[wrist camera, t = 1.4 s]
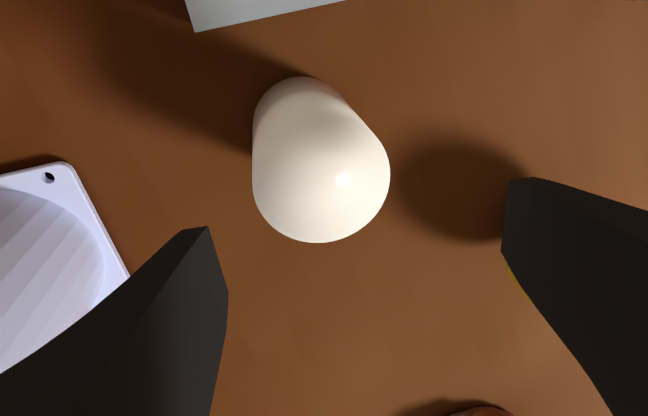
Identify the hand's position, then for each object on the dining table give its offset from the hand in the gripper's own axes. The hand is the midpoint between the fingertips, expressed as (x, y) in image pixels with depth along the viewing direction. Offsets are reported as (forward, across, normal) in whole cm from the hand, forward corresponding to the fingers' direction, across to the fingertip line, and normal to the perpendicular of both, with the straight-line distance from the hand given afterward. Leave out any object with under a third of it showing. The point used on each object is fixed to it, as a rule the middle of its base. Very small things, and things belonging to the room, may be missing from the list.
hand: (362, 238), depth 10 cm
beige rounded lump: (+10, +1, 0) cm, 10 cm away
